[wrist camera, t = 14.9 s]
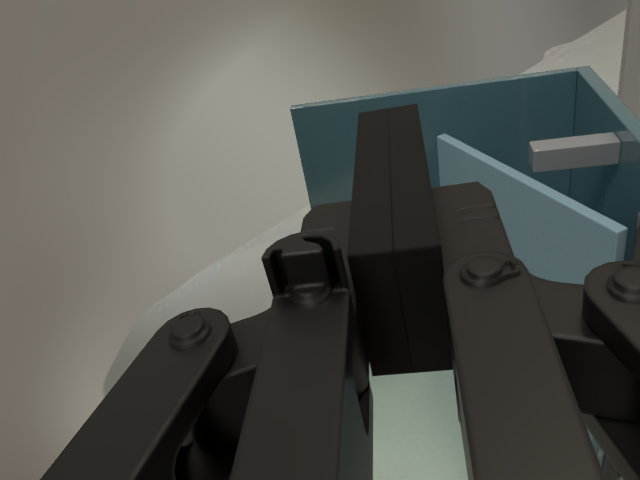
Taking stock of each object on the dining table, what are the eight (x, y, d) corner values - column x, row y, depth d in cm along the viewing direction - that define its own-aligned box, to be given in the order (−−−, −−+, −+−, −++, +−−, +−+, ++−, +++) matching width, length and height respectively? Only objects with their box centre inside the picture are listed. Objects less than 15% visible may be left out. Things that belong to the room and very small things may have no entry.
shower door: (436, 345, 42) (418, 142, 33) (457, 335, 42) (444, 132, 34) (569, 487, 31) (593, 243, 23) (595, 472, 32) (629, 227, 23)
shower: (317, 510, 34) (236, 245, 24) (337, 326, 47) (291, 105, 37) (647, 508, 31) (717, 201, 21) (570, 311, 44) (589, 65, 34)
